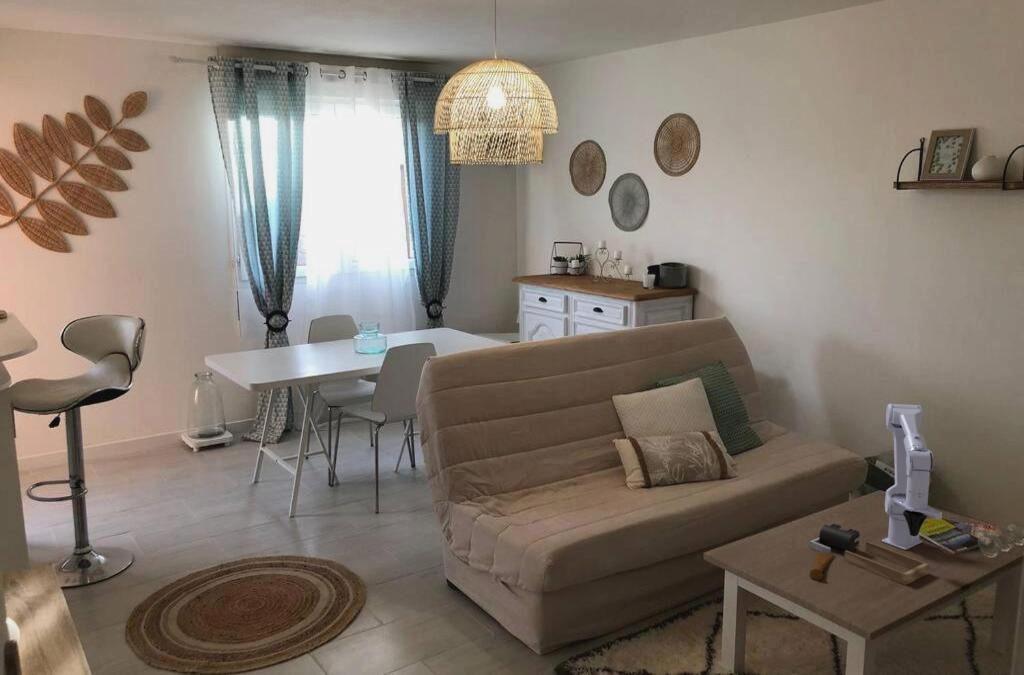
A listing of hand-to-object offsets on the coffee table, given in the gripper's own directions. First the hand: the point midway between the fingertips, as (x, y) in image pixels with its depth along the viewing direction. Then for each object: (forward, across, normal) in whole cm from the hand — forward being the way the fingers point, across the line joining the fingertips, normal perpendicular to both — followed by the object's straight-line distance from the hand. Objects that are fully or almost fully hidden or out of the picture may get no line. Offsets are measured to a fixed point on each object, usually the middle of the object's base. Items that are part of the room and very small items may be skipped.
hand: (914, 534), depth 244 cm
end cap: (+10, -20, -7) cm, 23 cm away
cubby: (+10, -5, -6) cm, 13 cm away
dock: (+10, -22, -7) cm, 25 cm away
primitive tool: (+11, -16, -22) cm, 29 cm away
